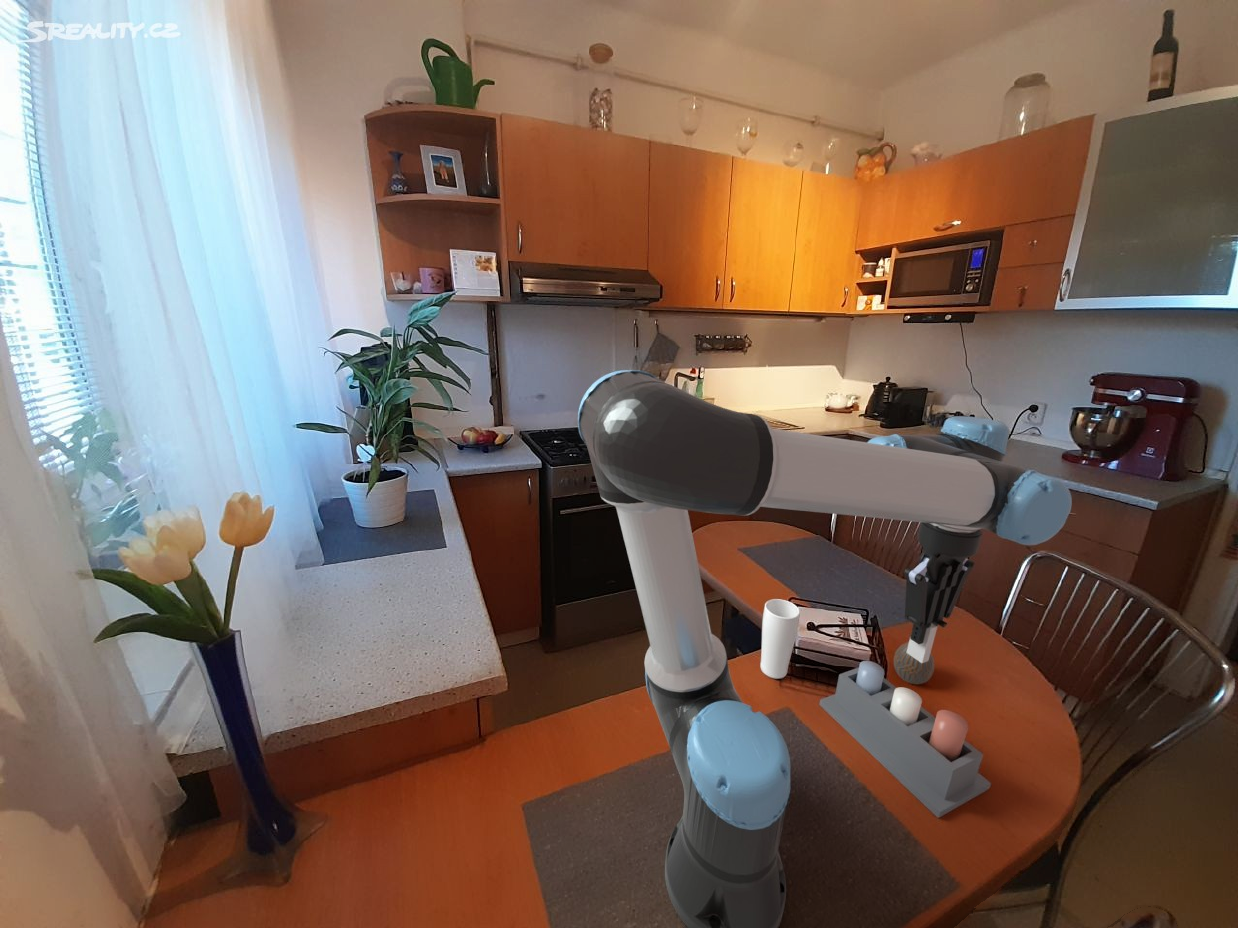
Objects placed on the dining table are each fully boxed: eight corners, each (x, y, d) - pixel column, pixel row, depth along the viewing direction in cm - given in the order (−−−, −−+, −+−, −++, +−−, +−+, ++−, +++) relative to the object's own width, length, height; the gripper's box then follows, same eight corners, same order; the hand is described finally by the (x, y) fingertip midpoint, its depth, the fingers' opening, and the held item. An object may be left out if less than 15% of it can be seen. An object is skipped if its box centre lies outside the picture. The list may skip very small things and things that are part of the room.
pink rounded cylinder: (946, 770, 73) (957, 734, 70) (921, 749, 76) (930, 714, 74) (963, 761, 74) (974, 726, 72) (938, 741, 78) (947, 706, 75)
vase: (927, 695, 93) (937, 658, 91) (888, 679, 97) (896, 643, 95) (931, 675, 98) (941, 639, 96) (893, 660, 102) (902, 626, 100)
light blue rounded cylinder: (866, 711, 85) (873, 679, 83) (848, 695, 89) (854, 664, 87) (882, 704, 87) (889, 672, 85) (863, 689, 90) (870, 658, 88)
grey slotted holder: (938, 818, 70) (949, 782, 68) (819, 704, 90) (824, 674, 88) (989, 788, 75) (1000, 754, 73) (865, 686, 95) (871, 657, 93)
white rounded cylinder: (902, 742, 79) (910, 708, 77) (881, 723, 83) (888, 691, 81) (918, 734, 81) (927, 701, 79) (897, 716, 84) (905, 684, 82)
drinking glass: (795, 683, 95) (805, 619, 91) (761, 682, 96) (769, 618, 91) (784, 659, 102) (793, 598, 97) (752, 658, 102) (760, 597, 98)
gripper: (948, 540, 64) (911, 683, 71) (1006, 526, 69) (966, 661, 76) (897, 519, 71) (868, 651, 78) (954, 507, 76) (922, 633, 83)
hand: (917, 656), depth 77 cm, fingers closed
